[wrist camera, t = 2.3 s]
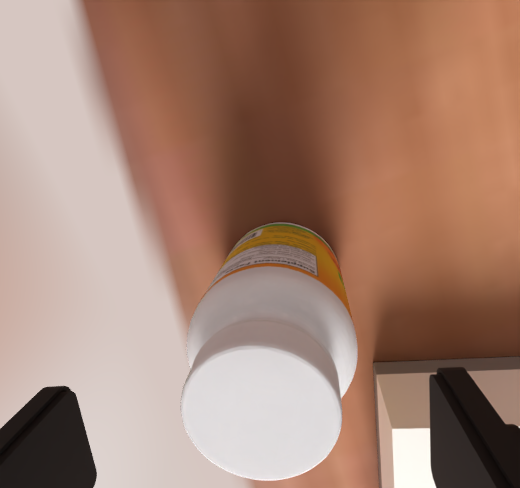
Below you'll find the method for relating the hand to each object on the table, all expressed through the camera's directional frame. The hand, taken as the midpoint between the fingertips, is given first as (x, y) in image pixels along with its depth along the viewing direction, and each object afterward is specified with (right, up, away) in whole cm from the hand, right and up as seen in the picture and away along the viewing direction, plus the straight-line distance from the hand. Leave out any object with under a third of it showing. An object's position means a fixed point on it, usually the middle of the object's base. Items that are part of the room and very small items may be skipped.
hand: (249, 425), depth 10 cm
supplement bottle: (+1, +3, +9) cm, 9 cm away
